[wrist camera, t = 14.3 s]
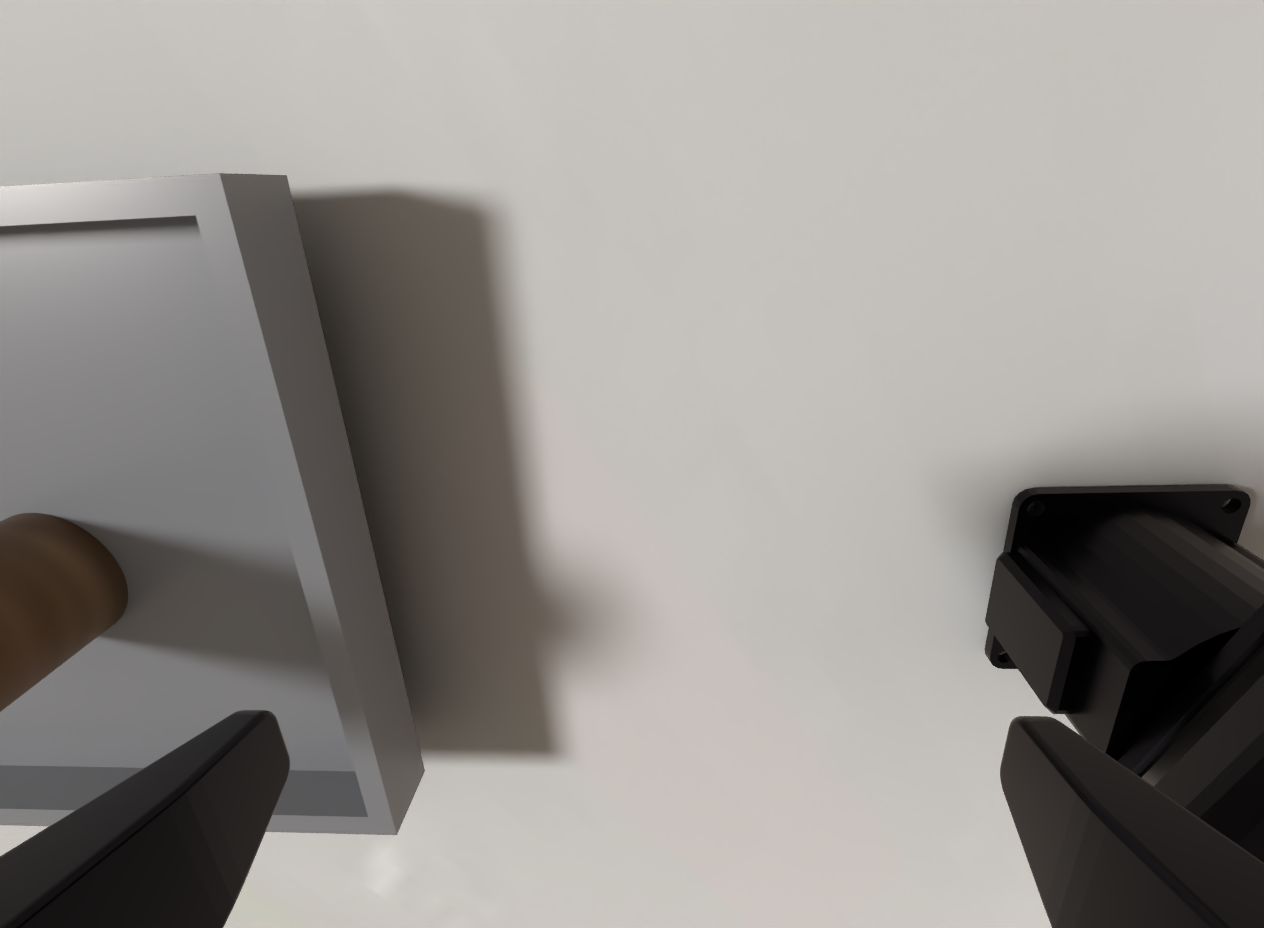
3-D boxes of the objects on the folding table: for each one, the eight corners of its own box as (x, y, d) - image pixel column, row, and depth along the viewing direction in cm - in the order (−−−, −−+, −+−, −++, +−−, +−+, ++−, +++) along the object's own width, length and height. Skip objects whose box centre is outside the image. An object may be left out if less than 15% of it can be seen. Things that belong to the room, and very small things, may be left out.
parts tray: (322, 176, 18) (219, 173, 14) (440, 733, 26) (396, 835, 22) (-318, 214, 20) (-576, 221, 16) (-27, 727, 27) (-149, 821, 23)
